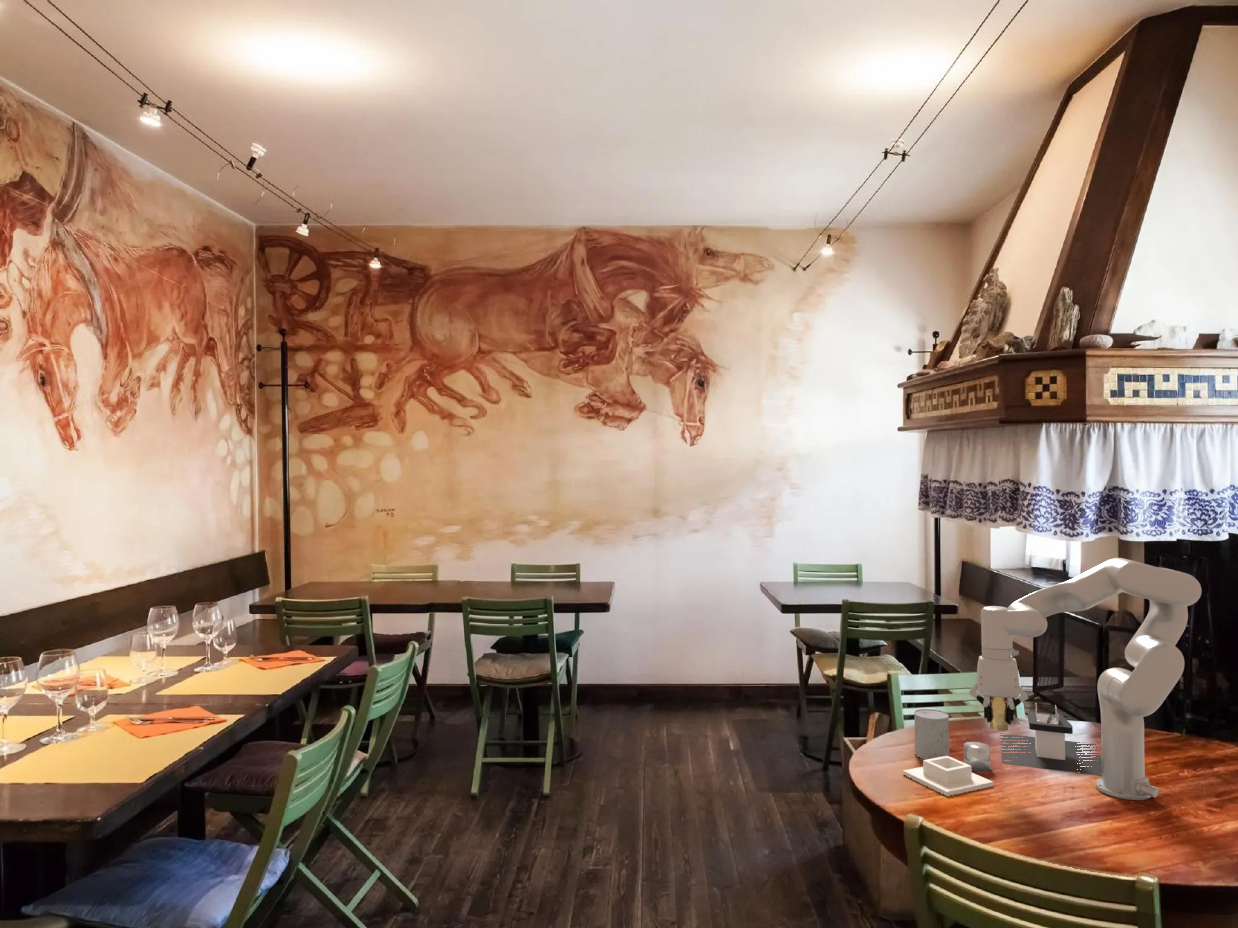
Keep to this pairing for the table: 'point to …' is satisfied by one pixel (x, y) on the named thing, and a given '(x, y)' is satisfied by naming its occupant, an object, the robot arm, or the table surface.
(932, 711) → the grey cylinder
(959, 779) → the flange socket
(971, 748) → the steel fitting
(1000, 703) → the cylinder
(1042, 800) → the table surface
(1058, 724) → the black-topped pedestal
